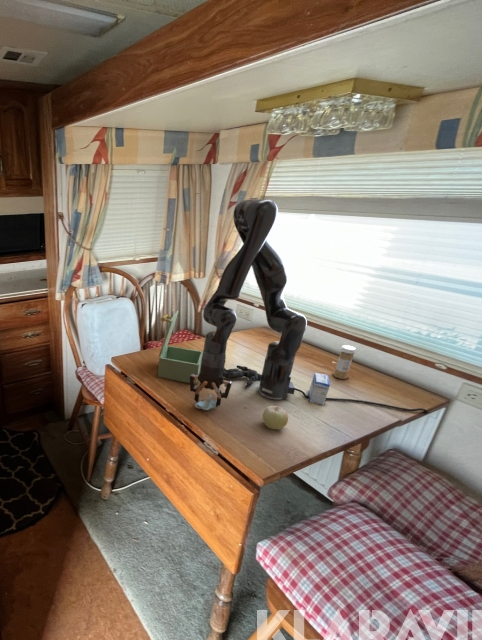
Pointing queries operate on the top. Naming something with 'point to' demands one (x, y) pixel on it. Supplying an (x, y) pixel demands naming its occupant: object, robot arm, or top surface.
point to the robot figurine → (242, 374)
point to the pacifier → (206, 403)
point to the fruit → (275, 417)
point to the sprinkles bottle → (344, 361)
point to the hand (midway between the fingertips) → (207, 403)
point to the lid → (168, 330)
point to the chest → (179, 363)
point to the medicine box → (319, 388)
